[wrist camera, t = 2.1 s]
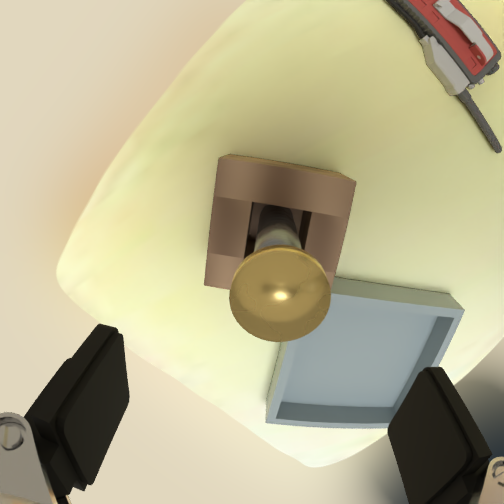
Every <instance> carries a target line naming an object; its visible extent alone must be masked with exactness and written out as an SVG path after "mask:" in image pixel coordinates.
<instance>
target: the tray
mask: <svg viewBox="0 0 504 504" xmlns="http://www.w3.org/2000/svg"><path fill="white" fill-rule="evenodd" d="M464 311H465V310H464V309H463V308H462V307H461V305H460V304H459V303H458V302H457V301H456V300H455V299H454V298H453V297H452V296H451V295H450V294H447V293H440V292H433V291H426V290H419V289H412V288H405V287H398V286H391V285H384V284H378V283H371V282H364V281H357V280H351V279H344V278H337V277H334V280H333V284H332V288H331V303H330V307H329V310H328V313H327V315H326V317H325V318H324V320H323V321H322V323H321V324H320V325H319V326H318V327H317V328H316V329H315V330H313V331H312V332H311V333H309V334H307V335H305V336H303V337H301V338H299V339H296V340H292V341H286V342H281V346H280V350H279V354H278V358H277V362H276V366H275V370H274V374H273V377H272V381H271V385H270V389H269V393H268V396H267V400H266V423H271V424H281V425H292V426H305V427H322V428H388V426H389V424H390V422H391V420H392V419H393V417H394V415H395V414H396V412H397V411H398V409H399V407H400V405H401V404H402V402H403V400H404V399H405V397H406V395H407V393H408V392H409V390H410V388H411V386H412V384H413V382H414V381H415V379H416V377H417V375H418V373H419V372H420V371H422V370H423V369H424V368H425V367H438V366H439V364H440V362H441V360H442V358H443V356H444V354H445V352H446V350H447V348H448V346H449V344H450V342H451V340H452V338H453V335H454V333H455V331H456V329H457V327H458V325H459V322H460V320H461V318H462V315H463V313H464Z"/></svg>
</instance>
